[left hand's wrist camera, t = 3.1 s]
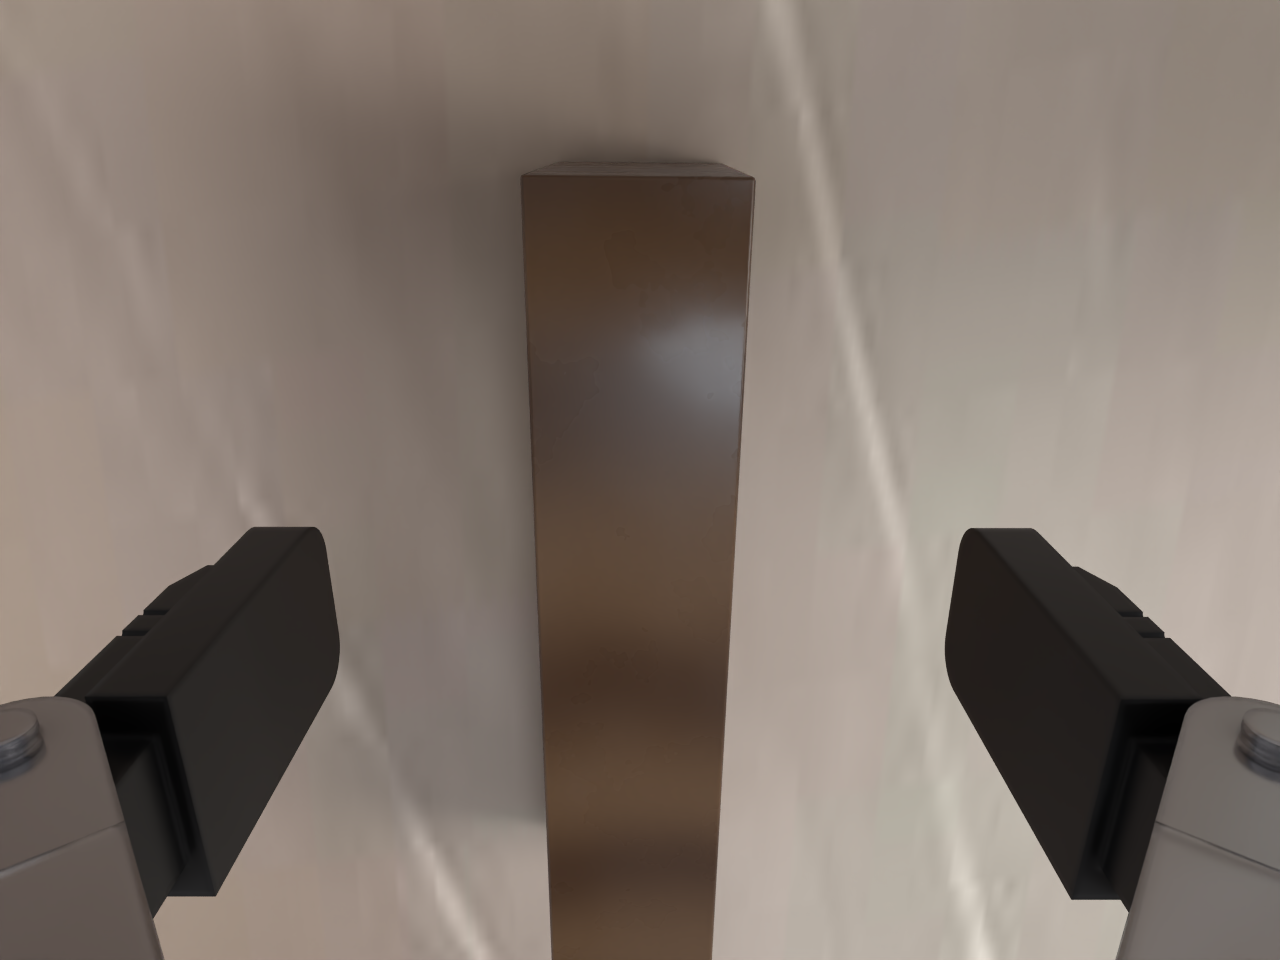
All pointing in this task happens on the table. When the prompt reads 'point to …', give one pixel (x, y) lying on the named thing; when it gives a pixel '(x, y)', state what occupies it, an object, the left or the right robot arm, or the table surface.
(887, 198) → the table surface
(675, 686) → the bar
